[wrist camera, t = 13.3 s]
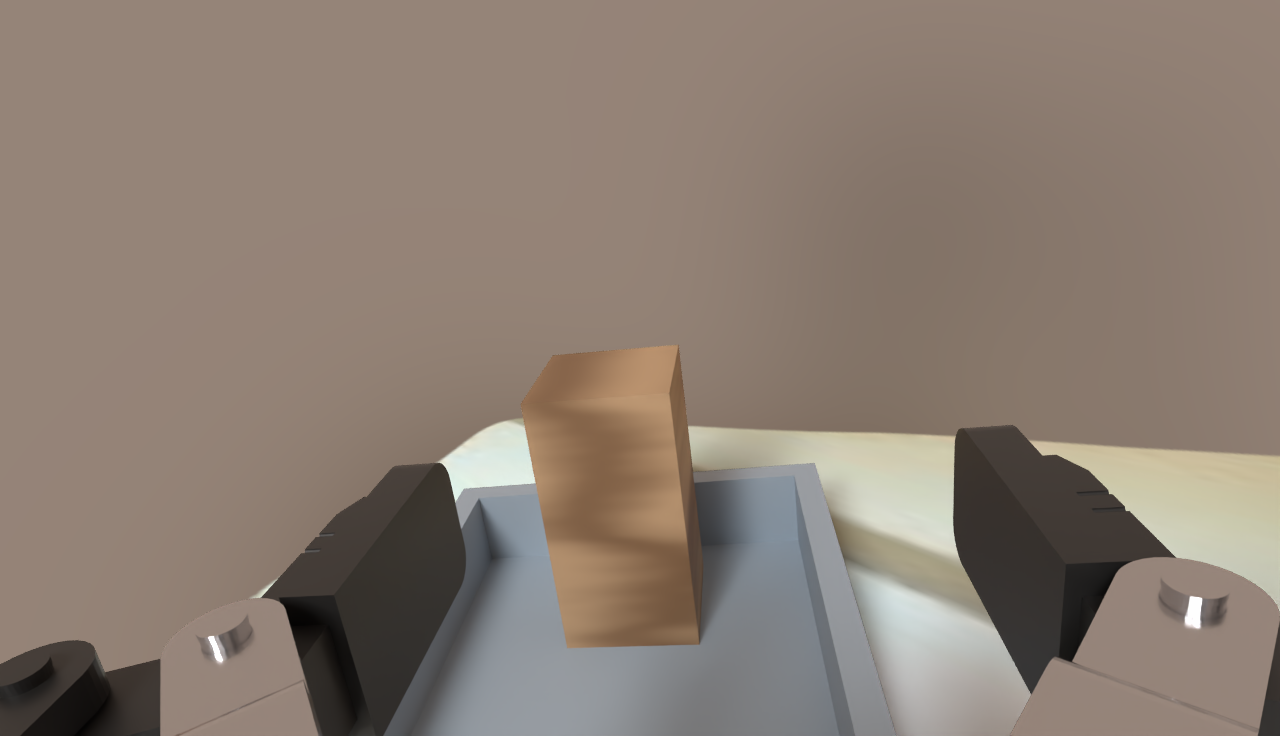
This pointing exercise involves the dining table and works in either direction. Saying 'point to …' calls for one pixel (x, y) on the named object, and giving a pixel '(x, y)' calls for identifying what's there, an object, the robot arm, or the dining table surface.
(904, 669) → the dining table surface
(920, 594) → the dining table surface
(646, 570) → the walnut block
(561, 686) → the tray
